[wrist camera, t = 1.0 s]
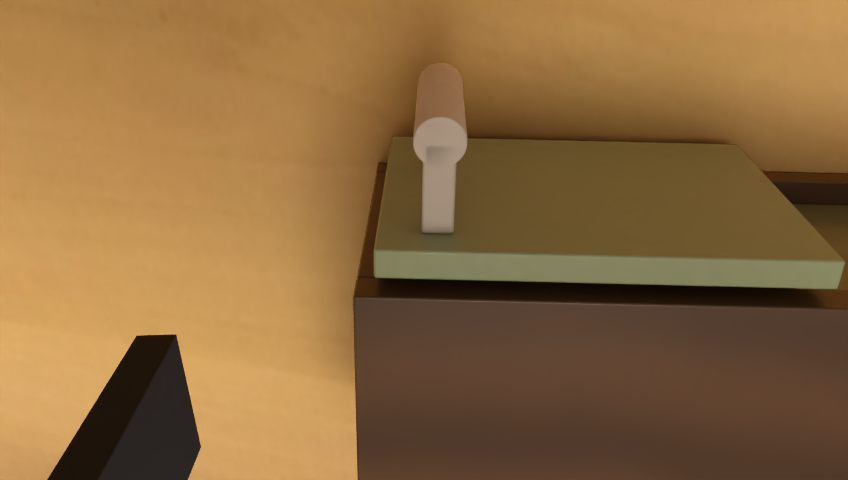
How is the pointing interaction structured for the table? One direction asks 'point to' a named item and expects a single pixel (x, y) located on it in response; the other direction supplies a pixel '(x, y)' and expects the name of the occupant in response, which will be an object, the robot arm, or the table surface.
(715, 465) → the cabinet
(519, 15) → the table surface
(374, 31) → the table surface
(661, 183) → the sliding door
